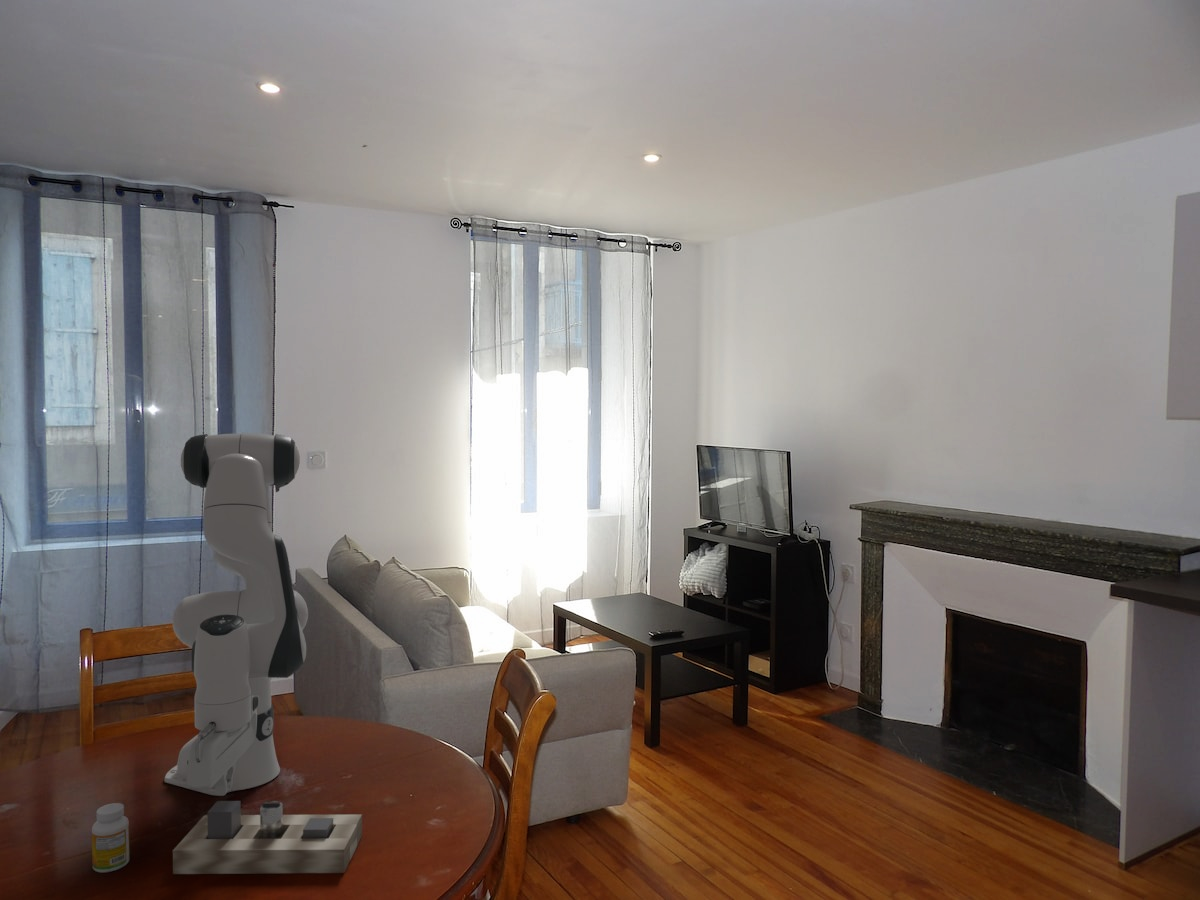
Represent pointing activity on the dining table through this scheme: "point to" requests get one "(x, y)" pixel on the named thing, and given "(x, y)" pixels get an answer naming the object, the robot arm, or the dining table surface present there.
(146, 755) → the dining table surface
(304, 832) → the outer button
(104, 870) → the supplement bottle
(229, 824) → the inner button
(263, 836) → the steel dial
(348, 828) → the mount
